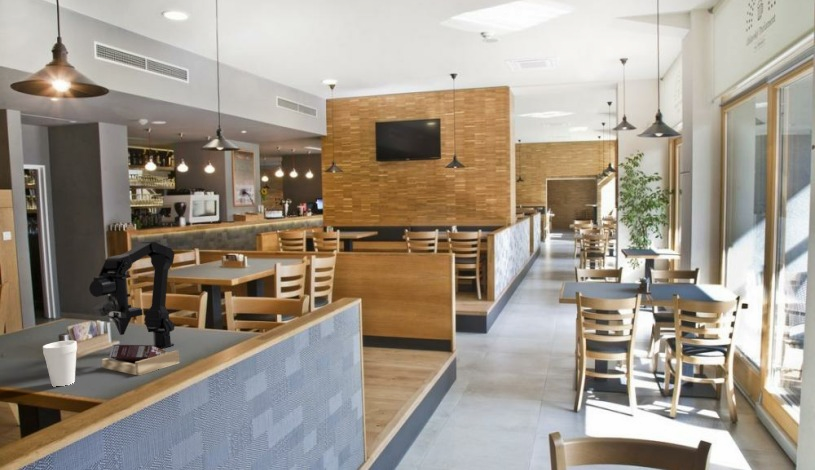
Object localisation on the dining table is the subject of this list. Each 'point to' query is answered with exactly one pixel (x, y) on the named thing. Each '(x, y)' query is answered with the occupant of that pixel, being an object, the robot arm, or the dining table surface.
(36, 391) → the dining table surface
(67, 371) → the foam cup
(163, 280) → the robot arm
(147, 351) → the supplement box
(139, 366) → the frame
